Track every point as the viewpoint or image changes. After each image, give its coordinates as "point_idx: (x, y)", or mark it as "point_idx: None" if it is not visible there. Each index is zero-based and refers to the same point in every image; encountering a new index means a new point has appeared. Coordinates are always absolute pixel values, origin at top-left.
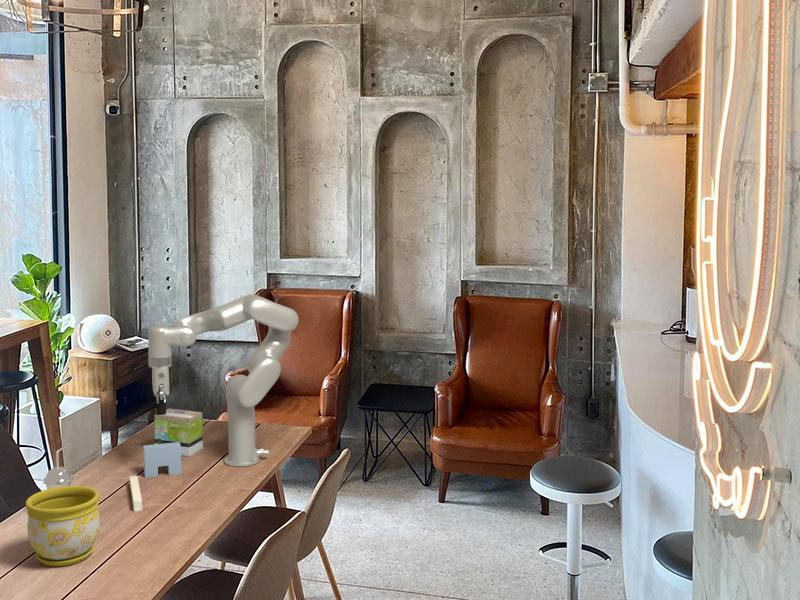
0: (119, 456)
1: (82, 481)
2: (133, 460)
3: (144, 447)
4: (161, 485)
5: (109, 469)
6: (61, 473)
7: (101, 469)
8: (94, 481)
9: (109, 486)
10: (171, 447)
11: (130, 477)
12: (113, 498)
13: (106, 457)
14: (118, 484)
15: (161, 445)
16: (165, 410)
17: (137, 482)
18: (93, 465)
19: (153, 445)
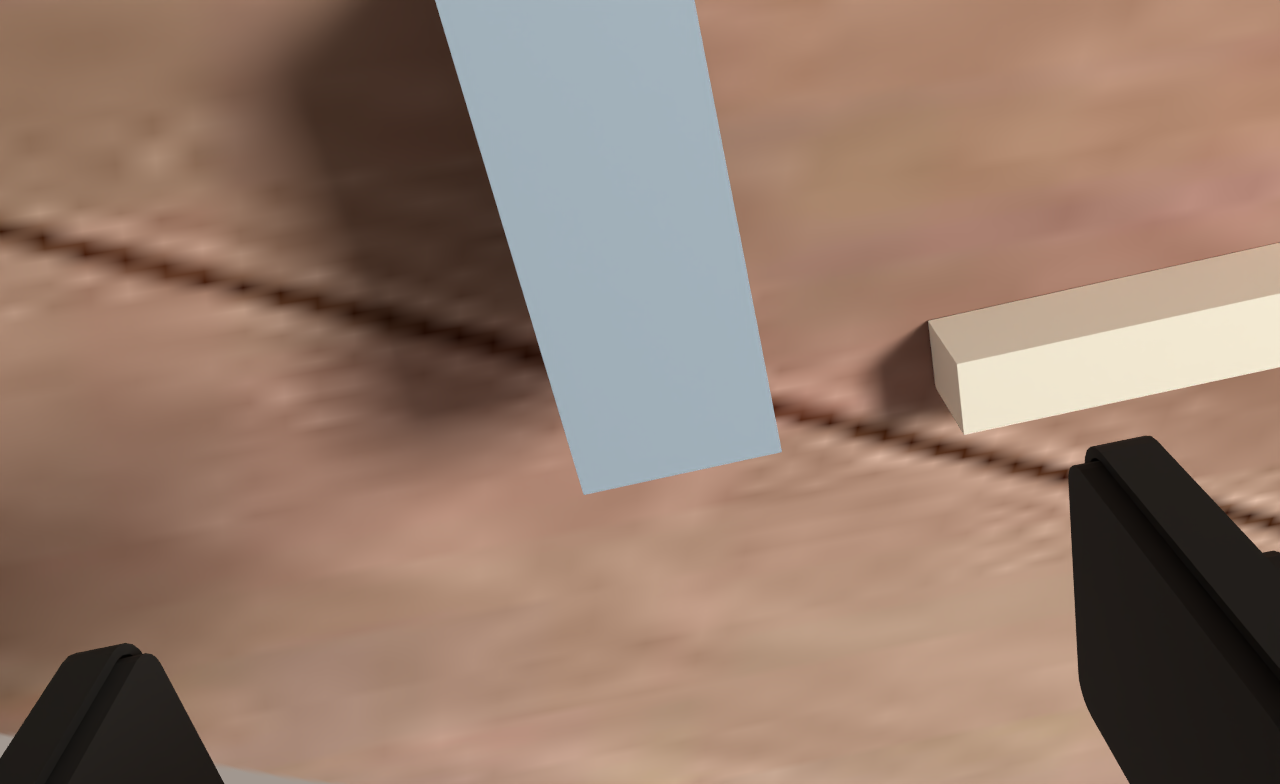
0: (7, 641)
1: (735, 764)
2: (124, 495)
3: (682, 464)
4: (1026, 55)
5: (423, 644)
6: None
7: (421, 702)
8: (751, 686)
9: (916, 552)
10: (700, 44)
11: (996, 421)
12: (1258, 459)
13: None
14: (879, 491)
15: (603, 234)
16: (1210, 521)
17: (1192, 322)
18: (306, 779)
19: (591, 357)
